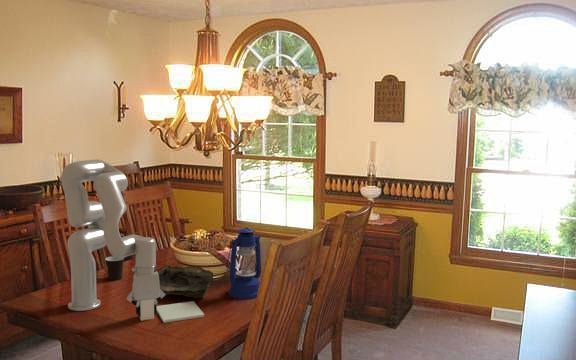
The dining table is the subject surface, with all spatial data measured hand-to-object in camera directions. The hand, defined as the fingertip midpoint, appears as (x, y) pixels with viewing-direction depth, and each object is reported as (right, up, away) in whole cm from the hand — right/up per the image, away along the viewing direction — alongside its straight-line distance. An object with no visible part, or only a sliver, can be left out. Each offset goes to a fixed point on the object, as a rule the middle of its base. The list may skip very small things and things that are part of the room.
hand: (146, 314), depth 207 cm
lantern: (+36, +1, +31) cm, 48 cm away
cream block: (0, -1, 0) cm, 1 cm away
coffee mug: (-28, +5, +49) cm, 56 cm away
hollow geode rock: (+10, +1, +24) cm, 26 cm away
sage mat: (+12, -1, +6) cm, 13 cm away
